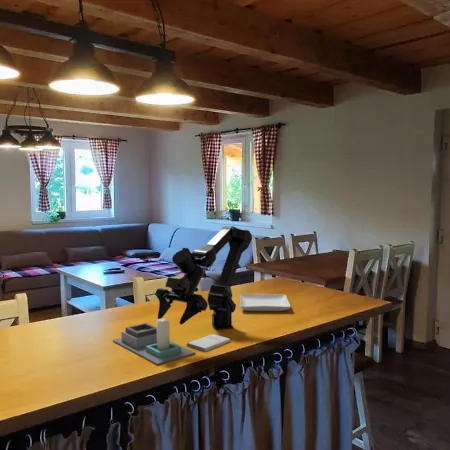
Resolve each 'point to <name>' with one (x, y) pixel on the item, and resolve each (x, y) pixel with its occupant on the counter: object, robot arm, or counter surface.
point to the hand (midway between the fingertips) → (169, 321)
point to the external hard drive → (208, 342)
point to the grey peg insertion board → (150, 344)
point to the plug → (163, 334)
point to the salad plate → (264, 302)
